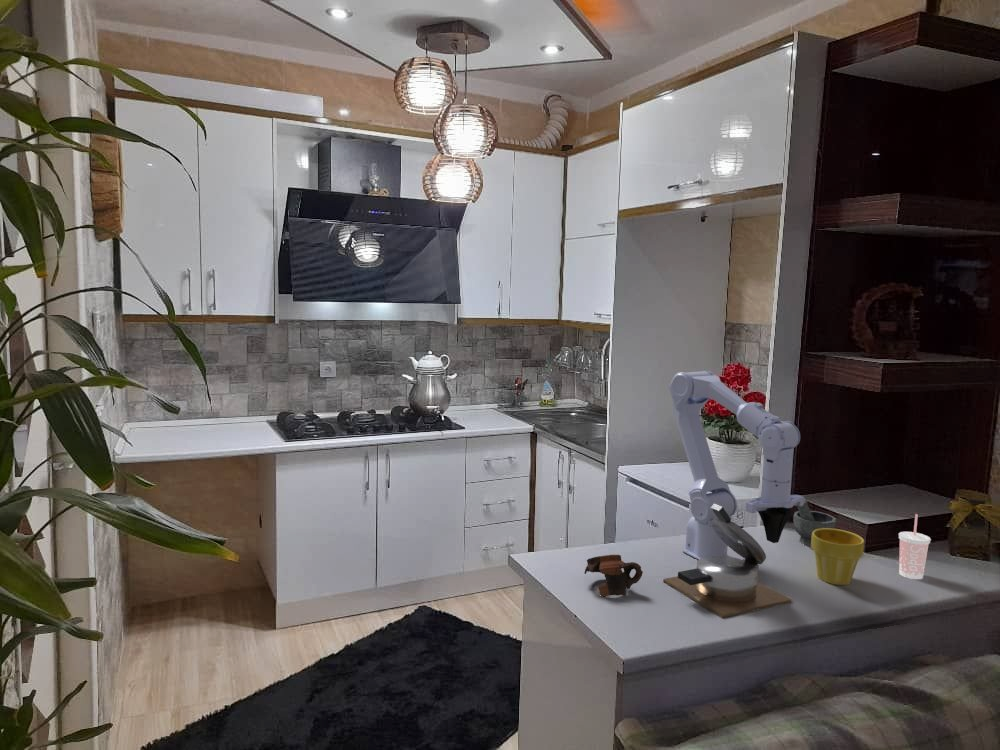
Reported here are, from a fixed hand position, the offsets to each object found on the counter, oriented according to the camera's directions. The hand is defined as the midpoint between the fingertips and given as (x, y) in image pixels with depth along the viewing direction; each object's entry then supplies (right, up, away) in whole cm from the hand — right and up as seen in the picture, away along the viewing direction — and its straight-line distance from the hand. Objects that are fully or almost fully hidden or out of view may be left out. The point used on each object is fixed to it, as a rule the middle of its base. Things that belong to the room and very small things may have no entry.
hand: (772, 541), depth 150 cm
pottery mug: (-35, -9, -3) cm, 36 cm away
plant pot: (+15, -9, +4) cm, 18 cm away
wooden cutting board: (-11, -10, -4) cm, 15 cm away
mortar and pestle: (+19, -7, +25) cm, 32 cm away
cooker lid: (-10, +2, -5) cm, 11 cm away
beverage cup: (+33, -9, +7) cm, 35 cm away
